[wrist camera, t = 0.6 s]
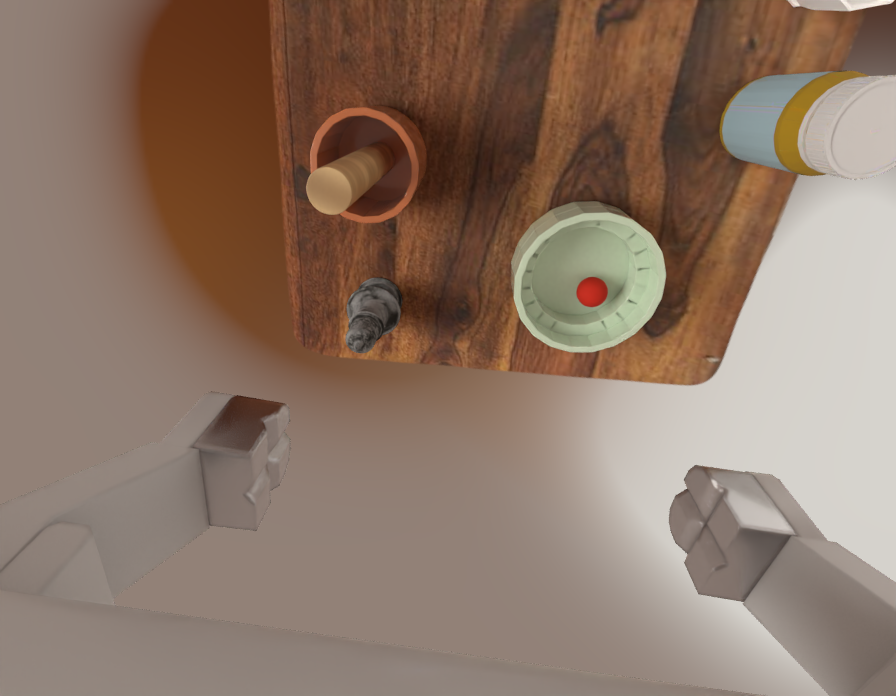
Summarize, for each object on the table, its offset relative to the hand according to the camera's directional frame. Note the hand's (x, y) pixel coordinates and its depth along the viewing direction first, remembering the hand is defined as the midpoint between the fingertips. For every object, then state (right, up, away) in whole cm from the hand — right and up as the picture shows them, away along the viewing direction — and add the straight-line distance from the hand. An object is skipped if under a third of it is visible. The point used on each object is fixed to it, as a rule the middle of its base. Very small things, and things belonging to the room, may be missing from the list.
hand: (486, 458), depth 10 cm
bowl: (+13, +11, +42) cm, 45 cm away
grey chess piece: (-9, +8, +45) cm, 46 cm away
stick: (-8, +21, +37) cm, 43 cm away
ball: (+14, +8, +41) cm, 44 cm away
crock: (-7, +21, +38) cm, 44 cm away
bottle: (+28, +23, +34) cm, 50 cm away
